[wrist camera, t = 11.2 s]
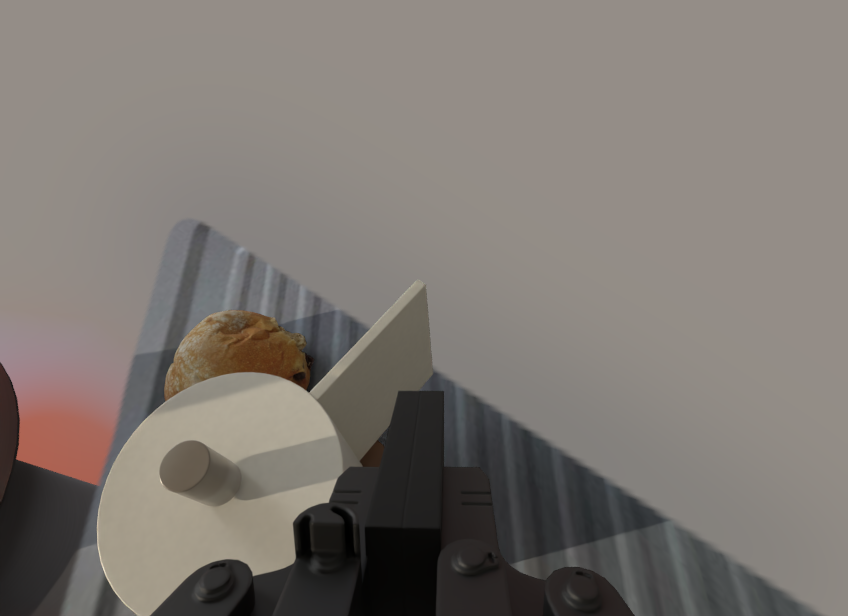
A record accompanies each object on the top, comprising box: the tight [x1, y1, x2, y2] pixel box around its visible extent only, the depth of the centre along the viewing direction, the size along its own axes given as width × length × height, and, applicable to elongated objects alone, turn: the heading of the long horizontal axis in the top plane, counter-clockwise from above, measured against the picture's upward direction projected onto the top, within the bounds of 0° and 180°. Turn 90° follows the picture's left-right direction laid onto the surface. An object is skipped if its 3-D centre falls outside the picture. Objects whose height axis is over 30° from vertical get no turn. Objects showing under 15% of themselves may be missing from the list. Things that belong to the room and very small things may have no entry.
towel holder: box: [159, 440, 384, 507], centre depth 24 cm, size 14×14×18 cm
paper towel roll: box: [97, 280, 433, 616], centre depth 26 cm, size 18×10×12 cm, turn 124°
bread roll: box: [164, 310, 314, 401], centre depth 35 cm, size 10×10×8 cm
